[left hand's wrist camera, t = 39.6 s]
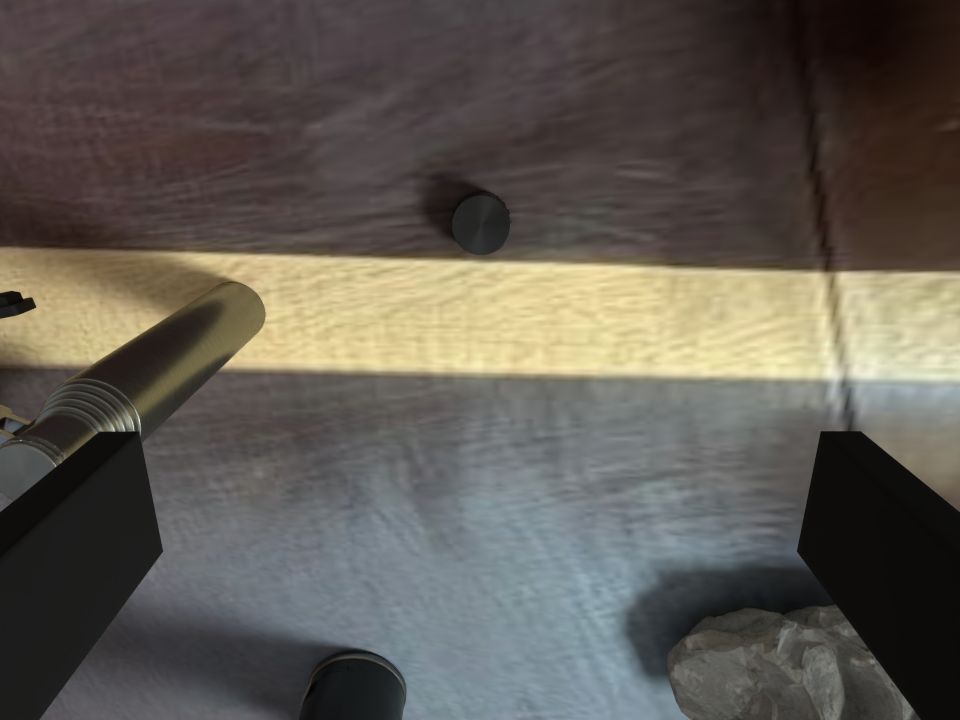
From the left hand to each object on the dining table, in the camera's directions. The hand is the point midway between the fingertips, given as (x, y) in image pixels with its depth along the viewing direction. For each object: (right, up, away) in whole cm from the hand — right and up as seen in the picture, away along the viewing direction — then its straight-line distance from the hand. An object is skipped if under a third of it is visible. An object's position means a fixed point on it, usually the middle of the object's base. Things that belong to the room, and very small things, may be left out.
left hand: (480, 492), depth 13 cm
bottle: (-19, +6, +37) cm, 42 cm away
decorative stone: (+33, -23, +48) cm, 63 cm away
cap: (0, +12, +33) cm, 35 cm away
